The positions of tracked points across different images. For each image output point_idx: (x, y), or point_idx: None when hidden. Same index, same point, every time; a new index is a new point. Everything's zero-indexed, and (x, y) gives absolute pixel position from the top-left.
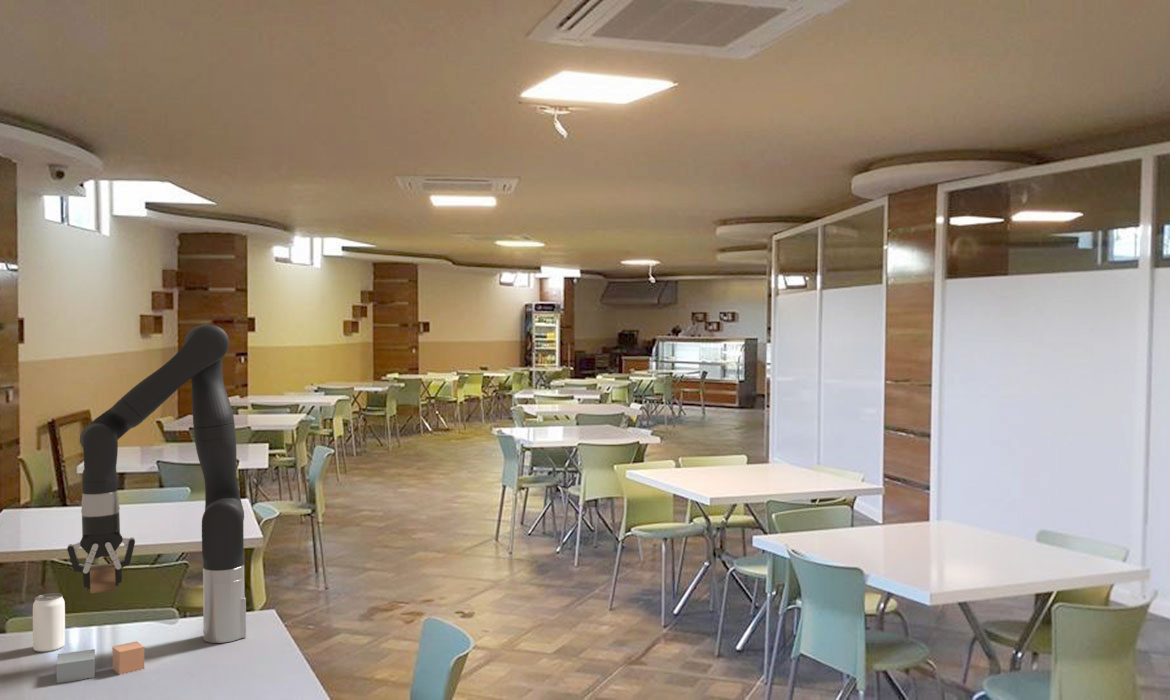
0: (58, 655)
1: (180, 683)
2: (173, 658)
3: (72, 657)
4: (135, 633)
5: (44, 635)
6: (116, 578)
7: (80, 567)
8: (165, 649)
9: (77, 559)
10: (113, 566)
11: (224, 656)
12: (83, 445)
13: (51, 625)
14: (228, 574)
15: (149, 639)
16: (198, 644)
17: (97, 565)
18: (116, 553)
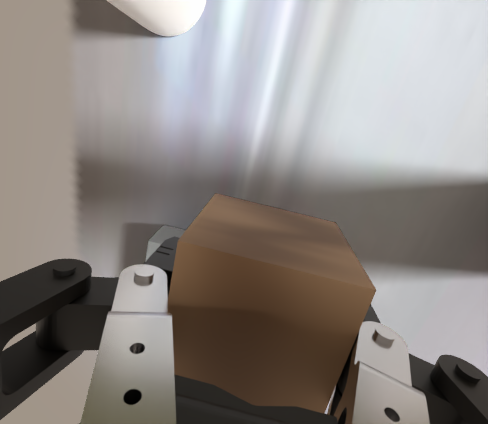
0: (148, 250)
1: None
2: (379, 294)
3: None
4: (405, 9)
5: (132, 18)
6: None
7: (84, 342)
8: (396, 223)
9: (13, 332)
10: (324, 386)
11: (462, 349)
12: None
13: (139, 13)
14: None
15: (407, 108)
16: (472, 239)
17: (235, 263)
18: (423, 416)
